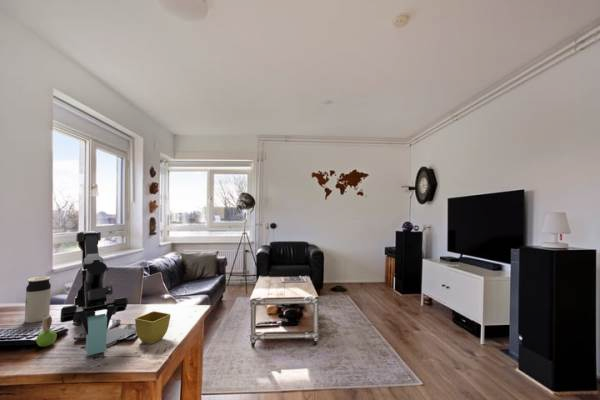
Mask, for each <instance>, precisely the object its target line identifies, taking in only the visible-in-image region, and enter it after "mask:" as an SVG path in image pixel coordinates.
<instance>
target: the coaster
mask: <svg viewBox="0 0 600 400" xmlns="http://www.w3.org/2000/svg"><path fill="white" fill-rule="evenodd" d="M134 331H135V332H136V329H130V328H129V329H128V328H122V327H116V326H115V327H113V328H111V329H109V330H108V329H107V335H106V348H109V347H110V346H113V345H114V344H117V343H118V342H117V340H118V339H119V337H120V336H123V335H125V334H127V333H128V334H129V333H132V332H134ZM116 342H117V343H116Z"/></svg>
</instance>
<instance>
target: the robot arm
mask: <svg viewBox="0 0 600 400" xmlns="http://www.w3.org/2000/svg"><path fill="white" fill-rule="evenodd" d="M101 235H102V232H98V231H97V230H80V231H79V232H78V233H76V235H75V236H76V237H75V238H76V239H75V243H76V242H77V247H78V248H79V249H80V250H81V265H80V271H79V273H80V276H81V282H80V283H81V285H80V287H79V288H78V290H77V291H76V295H75V296H74V298H73V299H74V300H73V305H67V306H66V305H65V306H62V308H61V309H60V316H59V317H60V323H68V322H71V321H72V322H73V323H72V325H74V326H80V327H81V329H82V330H83V332H84V333H85V336H86V335H88V326H87V317H90V316H95V315H96V312H99V311H104V310H106V313H105V315H106V317H107V330H108V328H109V325H110V322H111V320H112V317H113V316H114V315H116V314H117V313H118V312H123V311H124V312H125V311H126V309H127V306H128V304H129V301H128V298H127V297H126V296H121V297H117V298H116V297H115V298H114V299H113V302H108V303H106V302H107V299H108V298H107V297H108V296H111V295H113V291H114V290H113V285H112V284H109V285H106V286H105V285H104V281H105V278H106V274H107V271H109V266H107V264H106V263H104V258H103V257H102V256H100V254H99V246H98V245H99V242H100V241H102V239H101V237H102V236H101Z"/></svg>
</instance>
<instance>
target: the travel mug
mask: <svg viewBox="0 0 600 400" xmlns="http://www.w3.org/2000/svg"><path fill="white" fill-rule="evenodd" d="M50 279H51V276H37V277H35V276H34V277H31V278H28V279H27V281H28V284H27V286H26V289H25V291H26V292H25V306H24V307H25V308H24V323H29V324H31V323H32V324H33V323H34V324H35V323H39V322H43V321H42V320H43V315H47V316H50V308H51V307H50V306H51V292H52V291H51V289H52V288H51V287H52V284H51V283H50ZM47 316H44V318H46V317H47Z"/></svg>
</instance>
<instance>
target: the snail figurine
mask: <svg viewBox="0 0 600 400" xmlns="http://www.w3.org/2000/svg"><path fill="white" fill-rule="evenodd" d="M44 316H47V315H43V320H42V321H41V322H42V332H40V333H39V334H38V335H37V337H36V339H35V343H36V344H37V345H38V347H40V348H43V347H44V348H45V347H50V346H51V345H52V344H54V342H55V341H56V340H57V336H58V335H57V332H56V331H55V330H53V329H51V326H52V323H53V317H52V316H51V315H49V316H47V317H46V318H44Z"/></svg>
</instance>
